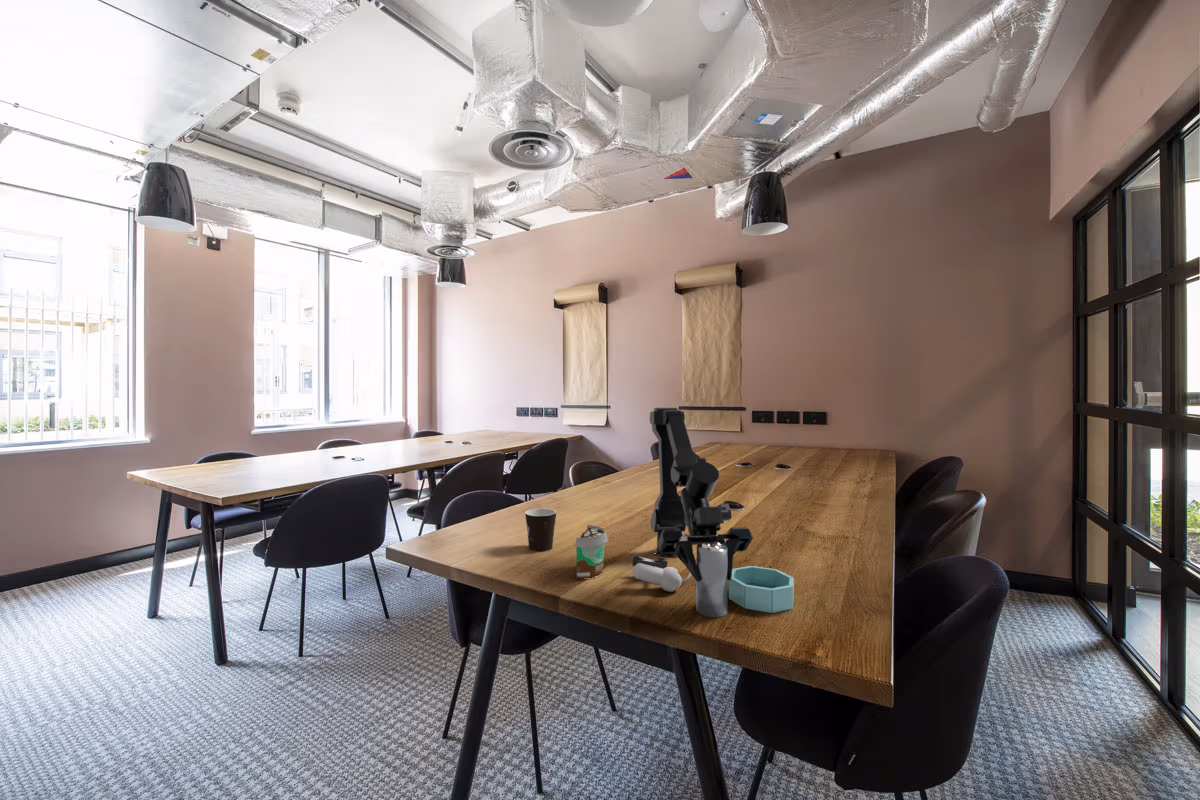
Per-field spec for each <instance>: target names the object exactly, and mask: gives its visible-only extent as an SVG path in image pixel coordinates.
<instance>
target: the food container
mask: <svg viewBox="0 0 1200 800" xmlns="http://www.w3.org/2000/svg"><path fill="white" fill-rule="evenodd" d="M586 525H587V526H586V530H585V531H583V532H582V533H581V535H580V537H576V539H575V548H576V553H575V555H576V580H577V579H584V578H592V577H595V576H598V575H600V574H601V573H602V574H603V570H604V569H603V568H604V567H603V566H604V557H605V555H604V554H605V544H606V543H607V542H608V536H607V532H606V530H605V529H604V527H601V526H597V525H592V524H591V525H590V524H586Z"/></svg>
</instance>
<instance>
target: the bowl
mask: <svg viewBox="0 0 1200 800" xmlns="http://www.w3.org/2000/svg"><path fill="white" fill-rule="evenodd" d="M794 580H795V577H794V576H792V575H789V574H787V573H785V572H783V571H781V570H779V569H776V568H770V567H769V568H768V567H762V566H754V565H748V566H742V567H737V568H732V578H731V580H728V599H729V600H731V601H733V602H734V603H735V604H737V605H738V606H740V607H742V608H743V609H748V610H753V611H758V612H765V613H770V614H771V613H772V614H774V613H775V614H776V613H779V612H784V611H789V610H793V609H794V597H795V596H794V591H795V589H794V586H795V585H794V582H795V581H794Z"/></svg>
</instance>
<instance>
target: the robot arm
mask: <svg viewBox="0 0 1200 800" xmlns="http://www.w3.org/2000/svg"><path fill="white" fill-rule="evenodd" d="M685 417H686V416H685V411H683V410H681V409H678V408H677V407H654V409H653V411H650V412H649V424H650V425H651V430H652V432H653V434H654V436H655V438H656V439H657V441H658V464H659V465H658V468H659V490H660V491H659V495H658V497H657V498H656V500H655V501H654V509H653V510H652V511H653V512H652V514H651V517H650V529H651V530H652V531H653V532H654V533H656V548H655V549H654V550H653V551H652V554H653V553H656V554H655V555H657V554H662V555H661V556H664V555H668V556H667V557H671V556H674V557H673V558H678V560H680V562H682V564H683V565H684V566H685V567H686V568H687V570H688V572H689V574H690V573H691V576H692V577H693V578H694V579H695V581H697V582H699V580H700V577H699V571H698V568H697V564H696V563H697V560H696V558H695V553H694V549H693V546H695V545H696V546H697V545H698V544H701V543H704V542H707V543H714V542H719V543H720V544H721V545H724V546H726V547H727V548H728V579H727V581H729V580H731V578H732V569H733V562H734V555H735V554H736V552H737V553H738V552H744V551H746V550H747V549H748V547H749V546H750V544H751V542H752V540H753V539H754V537H753V534H752V531H751V530H750V528H748V527H745V526H741V527H740V526H739V527H734V526H733V527H730V528H729V529H728V532H727V534H726V533H723V534H722V533H721V534H720V533H719V534H718V531H720V530H721V528H722V527H721V524H725V521H726V522H727V521H729V520H731V519H732V510H731V507H730V505H729V503H720V504H718V505H717V506H711V505H710V502H709V498H708V497H711V496H712V494H713V491H714V489H715V486H716V484H717V483H718V480H719V478H720V473H719V469H718V468H716V467H715V465H713V464H712V463H710V462H708V461H707V459H706V458H705V457H702V458H701V457H700V456H699V455H698V454H697V453H695V452H694V450H693V447H692V444H691V441H690V437H689V433H688V429H687V426H686V423H685V421H686V420H685V419H686V418H685ZM678 487H679V488H680V487H681V488H682V487H684V488H683V489H681V491H680V494H679V493H678ZM686 528H687V530H688V534H687V533H683V532H686Z"/></svg>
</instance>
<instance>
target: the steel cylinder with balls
mask: <svg viewBox="0 0 1200 800" xmlns="http://www.w3.org/2000/svg"><path fill="white" fill-rule="evenodd" d="M696 563H697V568H698V571H699V577H700V580H699V582H697V581H696V580H695V581H696V585H695V586H696V590H695V591H696V594H695V599H696V601H695V603H696V606H695V607H696V612H697V613H698V614H700V615H701V616H704V617H708V618H722V617H725V616H726V615H727V614H728V548H727V547H726V546H724V545H721V544H720V543H719V542H714V543H707V542H704V543H701V544H698V545H696Z"/></svg>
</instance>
